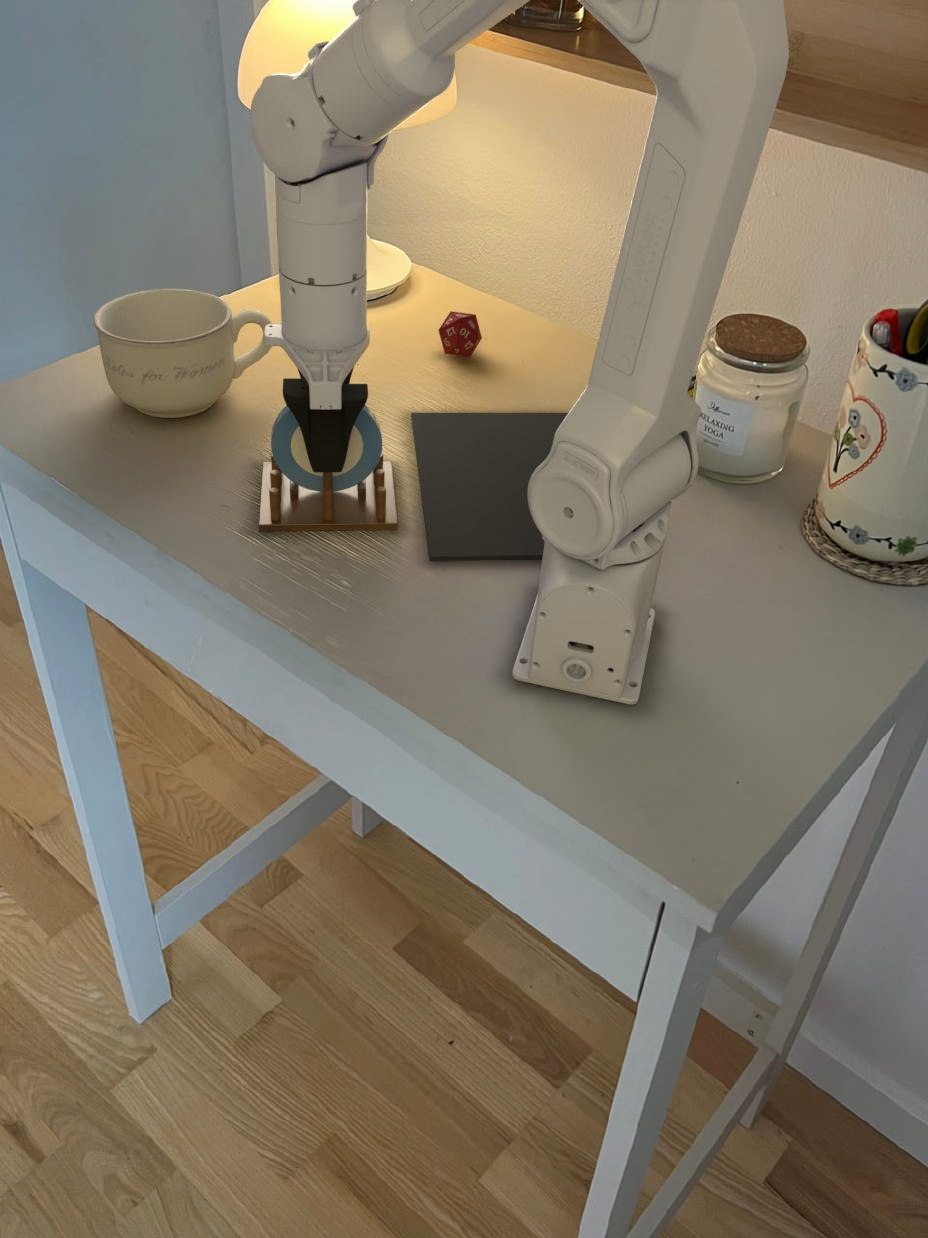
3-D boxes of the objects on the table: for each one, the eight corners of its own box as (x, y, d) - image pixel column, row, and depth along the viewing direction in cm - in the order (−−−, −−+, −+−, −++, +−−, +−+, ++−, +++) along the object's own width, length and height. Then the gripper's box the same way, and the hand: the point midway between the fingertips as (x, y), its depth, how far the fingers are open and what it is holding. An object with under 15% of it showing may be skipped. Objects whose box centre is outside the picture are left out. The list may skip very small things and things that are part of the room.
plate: (381, 492, 85) (383, 398, 80) (273, 493, 84) (268, 397, 79) (380, 484, 86) (382, 390, 81) (273, 484, 85) (268, 389, 80)
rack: (397, 529, 83) (398, 494, 81) (259, 531, 82) (256, 495, 80) (391, 467, 89) (392, 433, 87) (263, 468, 88) (260, 433, 86)
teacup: (95, 431, 91) (79, 338, 86) (121, 366, 99) (108, 278, 94) (270, 436, 92) (265, 345, 86) (282, 372, 100) (278, 285, 95)
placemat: (622, 558, 82) (623, 553, 82) (429, 561, 80) (429, 556, 80) (574, 416, 97) (575, 412, 97) (411, 416, 95) (411, 412, 95)
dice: (482, 346, 106) (485, 305, 103) (475, 368, 103) (478, 326, 100) (443, 340, 106) (445, 300, 104) (434, 362, 103) (436, 321, 100)
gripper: (264, 224, 79) (274, 397, 88) (256, 316, 68) (268, 504, 77) (366, 226, 80) (365, 397, 88) (374, 317, 69) (373, 503, 77)
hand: (327, 447), depth 83 cm, fingers open, 5 cm apart
